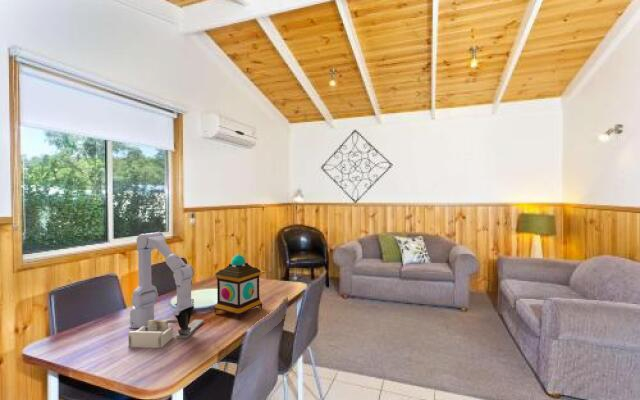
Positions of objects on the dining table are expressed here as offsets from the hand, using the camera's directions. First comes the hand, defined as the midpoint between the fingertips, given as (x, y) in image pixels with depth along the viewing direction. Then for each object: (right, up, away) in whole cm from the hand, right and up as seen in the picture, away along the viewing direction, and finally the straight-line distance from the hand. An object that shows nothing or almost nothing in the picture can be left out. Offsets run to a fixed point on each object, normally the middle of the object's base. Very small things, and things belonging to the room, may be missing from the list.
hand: (184, 325), depth 135 cm
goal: (-11, -5, -5) cm, 13 cm away
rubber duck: (-12, -5, -4) cm, 13 cm away
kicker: (-6, -4, 0) cm, 8 cm away
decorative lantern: (+16, -4, +28) cm, 33 cm away
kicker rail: (0, -4, +6) cm, 8 cm away
